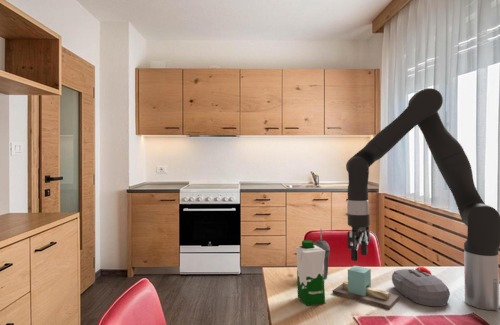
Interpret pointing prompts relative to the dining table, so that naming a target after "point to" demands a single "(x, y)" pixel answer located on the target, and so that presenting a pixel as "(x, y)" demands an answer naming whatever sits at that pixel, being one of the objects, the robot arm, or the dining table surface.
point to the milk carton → (310, 273)
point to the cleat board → (369, 296)
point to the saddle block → (359, 280)
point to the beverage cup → (325, 247)
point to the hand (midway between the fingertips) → (359, 257)
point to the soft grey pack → (421, 287)
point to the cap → (424, 270)
